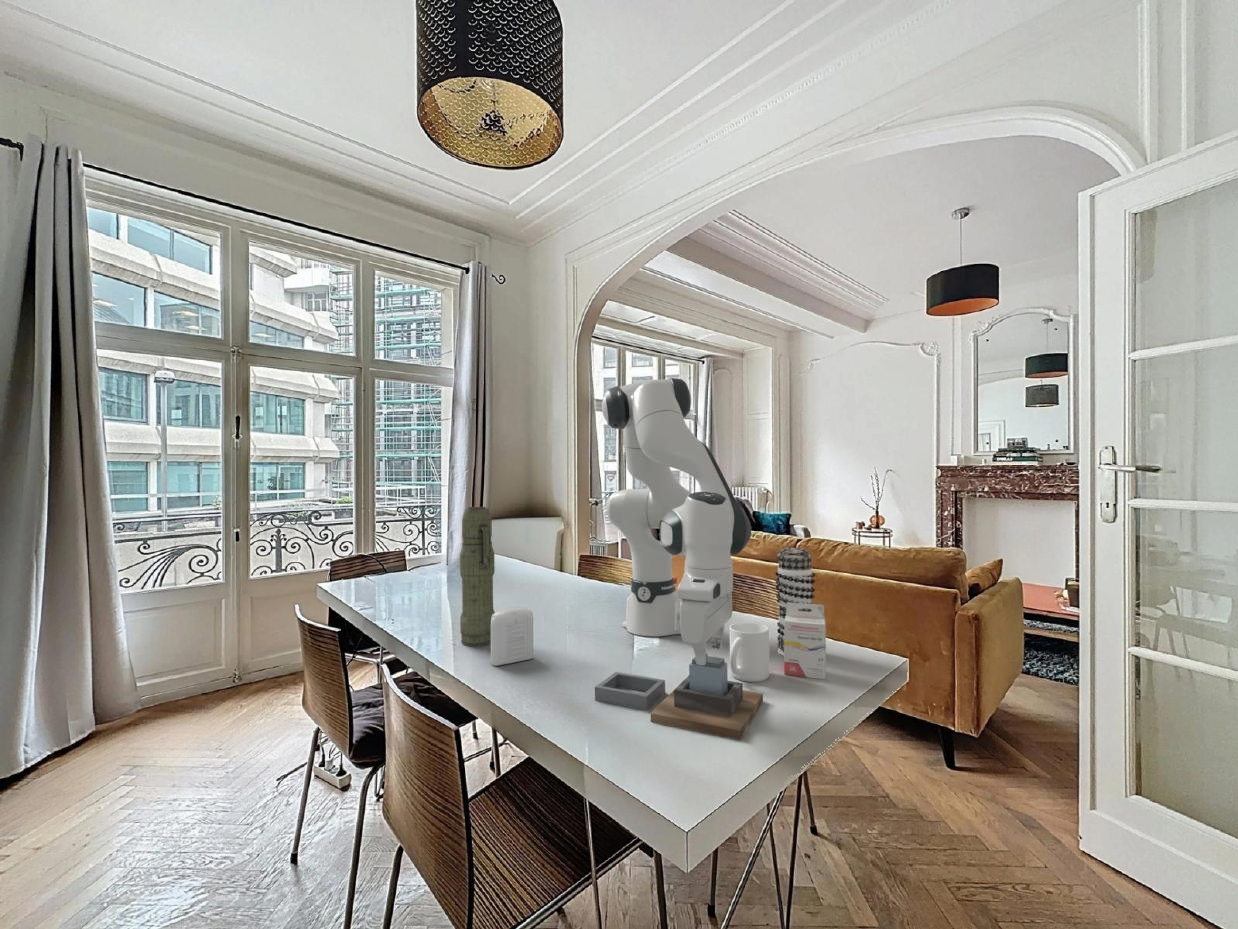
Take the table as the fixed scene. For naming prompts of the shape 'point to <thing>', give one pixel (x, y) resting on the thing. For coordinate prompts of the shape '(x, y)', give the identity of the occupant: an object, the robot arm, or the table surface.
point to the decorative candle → (793, 584)
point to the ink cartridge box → (805, 641)
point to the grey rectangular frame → (629, 698)
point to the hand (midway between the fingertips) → (709, 655)
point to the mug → (749, 652)
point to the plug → (709, 676)
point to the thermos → (476, 576)
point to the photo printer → (511, 636)
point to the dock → (709, 710)
